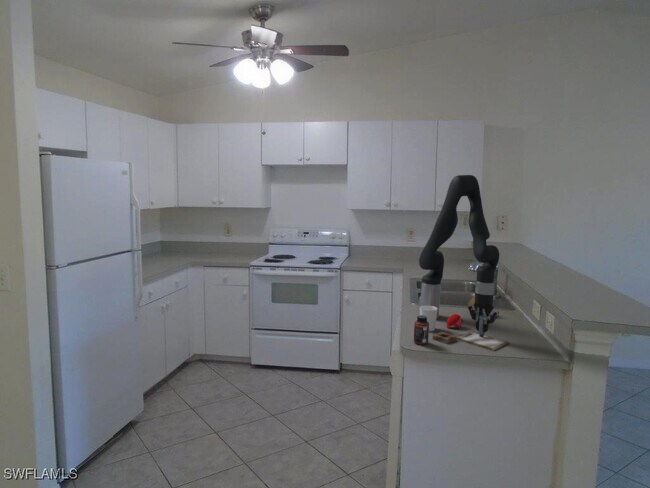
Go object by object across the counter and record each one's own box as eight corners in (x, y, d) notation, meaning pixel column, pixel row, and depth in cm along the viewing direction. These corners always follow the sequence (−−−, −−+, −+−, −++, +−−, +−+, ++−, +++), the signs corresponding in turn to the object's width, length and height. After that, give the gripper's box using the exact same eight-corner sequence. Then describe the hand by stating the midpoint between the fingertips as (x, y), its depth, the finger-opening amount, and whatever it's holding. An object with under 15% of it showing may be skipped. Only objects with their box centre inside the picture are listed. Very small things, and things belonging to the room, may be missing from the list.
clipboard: (454, 338, 189) (454, 336, 189) (470, 332, 197) (470, 330, 197) (493, 351, 175) (494, 348, 175) (509, 343, 184) (509, 341, 184)
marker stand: (432, 339, 188) (432, 335, 187) (441, 335, 192) (442, 331, 192) (446, 343, 182) (446, 339, 182) (456, 340, 187) (456, 336, 187)
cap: (455, 317, 209) (446, 311, 207) (465, 316, 204) (455, 310, 202) (451, 332, 206) (442, 327, 204) (460, 332, 201) (451, 326, 199)
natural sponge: (464, 314, 226) (466, 295, 224) (473, 310, 232) (474, 292, 230) (481, 318, 219) (483, 298, 218) (489, 314, 225) (491, 295, 224)
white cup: (427, 333, 195) (428, 311, 194) (414, 328, 202) (415, 306, 201) (439, 330, 200) (441, 308, 198) (427, 325, 206) (428, 304, 205)
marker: (476, 335, 190) (478, 315, 189) (480, 334, 192) (481, 314, 190) (482, 337, 188) (483, 317, 187) (485, 336, 190) (487, 316, 188)
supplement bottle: (428, 345, 180) (429, 319, 178) (413, 344, 181) (414, 318, 179) (427, 340, 185) (429, 314, 184) (413, 339, 186) (414, 313, 185)
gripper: (464, 290, 190) (462, 328, 192) (495, 296, 179) (492, 337, 182) (474, 287, 195) (471, 325, 197) (504, 293, 184) (501, 333, 187)
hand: (481, 330), depth 189 cm, fingers closed on marker, 2 cm apart
